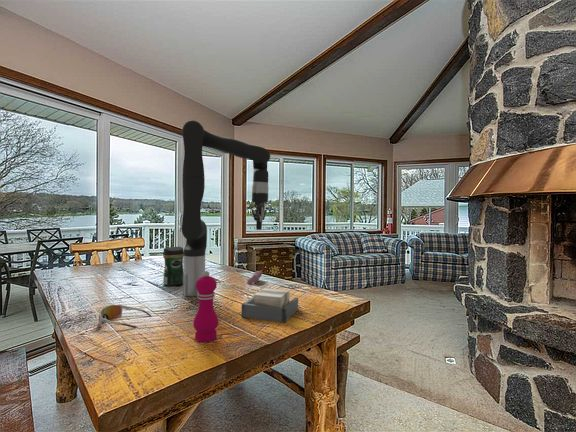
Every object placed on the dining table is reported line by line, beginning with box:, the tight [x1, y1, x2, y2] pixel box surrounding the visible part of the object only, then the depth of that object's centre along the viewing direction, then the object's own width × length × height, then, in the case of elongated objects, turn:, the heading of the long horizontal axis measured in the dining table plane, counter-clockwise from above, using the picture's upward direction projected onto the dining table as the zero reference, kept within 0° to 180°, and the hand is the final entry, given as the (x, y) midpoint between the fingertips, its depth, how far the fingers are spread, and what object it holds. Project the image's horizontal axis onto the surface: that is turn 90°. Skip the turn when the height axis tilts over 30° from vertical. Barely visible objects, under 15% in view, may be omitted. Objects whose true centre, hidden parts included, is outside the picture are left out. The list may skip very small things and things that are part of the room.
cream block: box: [253, 287, 290, 308], centre depth 118 cm, size 10×10×8 cm
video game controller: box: [246, 270, 263, 285], centre depth 167 cm, size 10×5×7 cm, turn 170°
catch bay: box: [240, 296, 299, 323], centre depth 119 cm, size 15×16×4 cm
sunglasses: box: [98, 303, 153, 329], centre depth 109 cm, size 14×15×5 cm
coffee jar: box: [162, 246, 184, 287], centre depth 160 cm, size 10×8×19 cm
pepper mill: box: [193, 270, 219, 343], centre depth 96 cm, size 7×7×20 cm
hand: (258, 229), depth 150 cm, fingers closed
